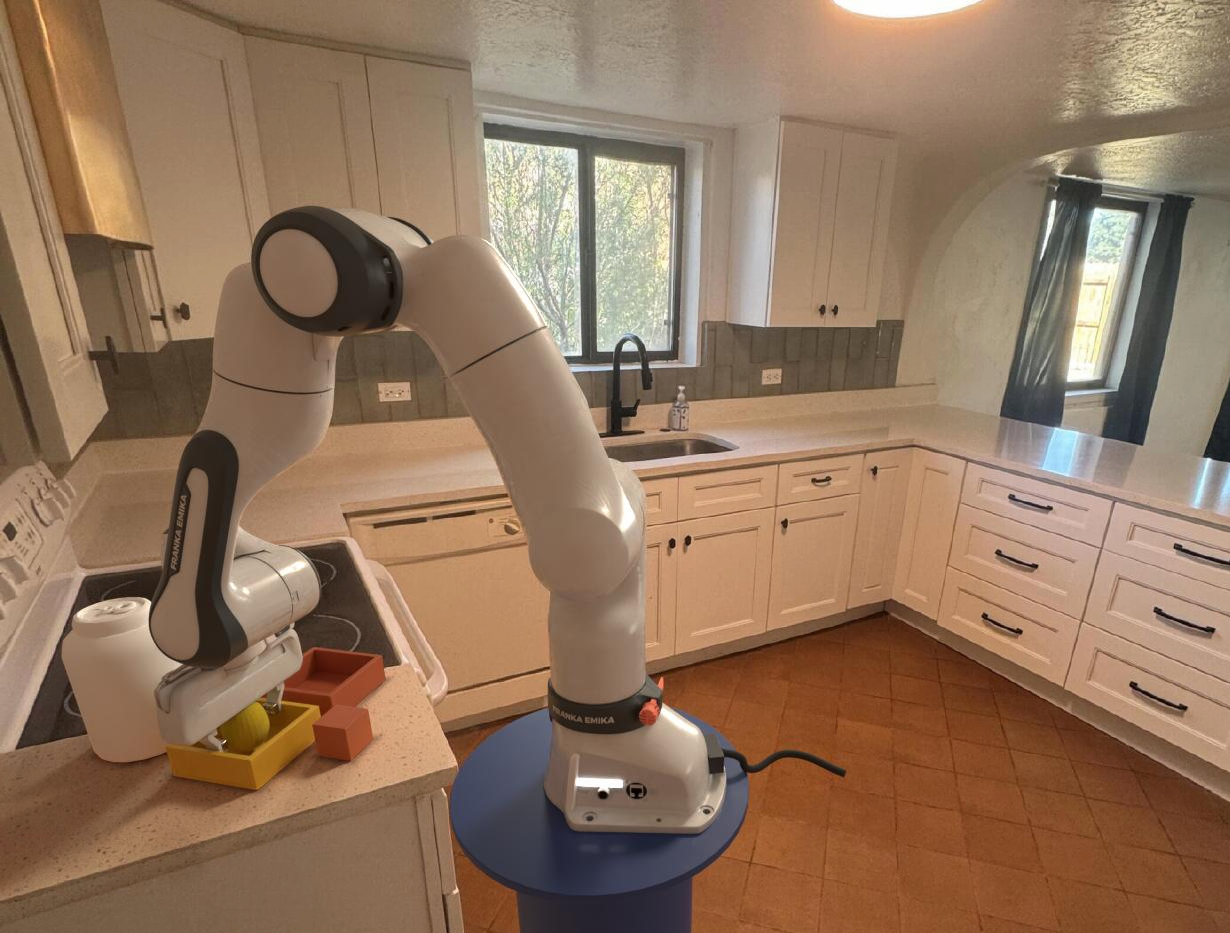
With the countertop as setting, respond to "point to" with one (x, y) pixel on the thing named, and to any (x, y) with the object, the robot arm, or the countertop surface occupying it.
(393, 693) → the countertop surface
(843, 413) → the countertop surface
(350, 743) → the block
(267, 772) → the yellow bin
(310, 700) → the terracotta bin
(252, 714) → the lemon
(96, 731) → the can
